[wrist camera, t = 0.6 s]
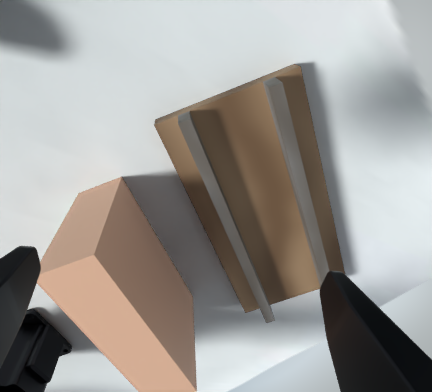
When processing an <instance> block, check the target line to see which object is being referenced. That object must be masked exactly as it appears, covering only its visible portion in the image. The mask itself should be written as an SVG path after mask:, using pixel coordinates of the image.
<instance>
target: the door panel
mask: <svg viewBox="0 0 432 392" xmlns="http://www.w3.org/2000/svg"><path fill="white" fill-rule="evenodd" d="M40 264H41V271H40V275H39V278H38V280H37V284H38V285H39V286H40V287H41V288H42V289H43V290H44V291H45V292H46V293H47V294H48V295H49V297H50V298H51V299H52V300H53V301H54V302H55V303H56V304H57V305H58V306H59V307H60V308H61V309H62V310H63V311H64V313H65V314H66V315H67V316H68V317H69V318H70V319H71V320H72V321H73V322H74V323H75V324H76V325H77V326H78V327H79V329H80V330H81V331H82V332H83V333H84V334H85V335H86V336H87V337H88V338H89V339H90V340H91V341H92V342H93V343H94V345H95V346H96V347H97V348H98V349H99V350H100V351H101V352H102V353H103V354H104V355H105V356H106V357H107V358H108V359H109V361H110V362H111V363H112V364H113V365H114V366H115V367H116V368H117V369H118V370H119V371H120V372H121V373H122V374H123V375H124V377H125V378H126V379H127V380H128V381H129V382H130V383H131V384H132V385H133V386H134V387H135V388H136V389H137V390H138V391H139V392H196V391H197V386H196V361H195V337H194V313H193V296H192V294H191V293H190V291H189V289H188V288H187V286H186V284H185V283H184V281H183V279H182V278H181V276H180V274H179V273H178V271H177V269H176V268H175V266H174V264H173V262H172V261H171V259H170V257H169V256H168V254H167V252H166V251H165V249H164V247H163V246H162V244H161V242H160V241H159V239H158V237H157V235H156V234H155V232H154V230H153V229H152V227H151V225H150V224H149V222H148V220H147V219H146V217H145V215H144V214H143V212H142V210H141V209H140V207H139V205H138V203H137V202H136V200H135V198H134V197H133V195H132V193H131V192H130V190H129V188H128V187H127V185H126V183H125V182H124V180H123V178H122V177H120V178H117V179H115V180H112V181H109V182H107V183H104V184H102V185H99V186H96V187H94V188H91V189H89V190H86V191H83V192H81V193H79V194H78V195H77V197H76V199H75V201H74V203H73V204H72V206H71V208H70V210H69V211H68V213H67V215H66V217H65V219H64V220H63V222H62V224H61V226H60V228H59V229H58V231H57V233H56V235H55V236H54V238H53V240H52V242H51V244H50V245H49V247H48V249H47V251H46V253H45V254H44V256H43V258H42V260H41V261H40Z"/></svg>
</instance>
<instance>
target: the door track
mask: <svg viewBox="0 0 432 392" xmlns="http://www.w3.org/2000/svg"><path fill="white" fill-rule="evenodd" d="M154 126H155V128H156V130H157V132H158V134H159V136H160V138H161V140H162V142H163V144H164V146H165V148H166V150H167V152H168V154H169V156H170V159H171V161H172V163H173V165H174V167H175V169H176V171H177V173H178V175H179V177H180V179H181V181H182V183H183V185H184V187H185V189H186V191H187V194H188V196H189V198H190V200H191V202H192V204H193V206H194V208H195V210H196V212H197V214H198V216H199V218H200V220H201V222H202V224H203V226H204V229H205V231H206V233H207V235H208V237H209V239H210V241H211V243H212V245H213V247H214V249H215V251H216V253H217V255H218V257H219V259H220V262H221V264H222V266H223V268H224V270H225V272H226V274H227V276H228V278H229V280H230V282H231V284H232V286H233V288H234V290H235V292H236V294H237V297H238V299H239V301H240V303H241V305H242V307H243V309H244V311H245V313H247V312H250V311H253V310H256V309H259V308H260V310H261V312H262V314H263V316H264V319H265V321H266V323H268V322H272V321H275V319H274V316H273V313H272V310H271V306H270V305H271V304H274V303H277V302H280V301H283V300H286V299H289V298H292V297H295V296H298V295H302V294H305V293H308V292H311V291H314V290H317V289H320V287H321V285H322V283H323V281H324V279H325V277H326V275H327V273H328V272H329V271H340V272H343V273H344V274H345V271H344V267H343V262H342V257H341V253H340V248H339V243H338V239H337V234H336V230H335V225H334V220H333V216H332V211H331V206H330V202H329V197H328V192H327V188H326V183H325V178H324V174H323V169H322V164H321V160H320V155H319V150H318V146H317V141H316V136H315V132H314V127H313V122H312V118H311V113H310V108H309V104H308V99H307V94H306V90H305V85H304V80H303V76H302V71H301V67H300V66H298V65H296V64H293V65H291V66H288V67H286V68H283V69H281V70H278V71H276V72H273V73H271V74H268V75H266V76H263V77H261V78H258V79H256V80H253V81H251V82H248V83H246V84H243V85H241V86H238V87H236V88H233V89H231V90H228V91H226V92H223V93H221V94H218V95H216V96H213V97H211V98H208V99H206V100H203V101H201V102H198V103H196V104H193V105H191V106H188V107H186V108H183V109H181V110H178V111H176V112H173V113H171V114H168V115H166V116H163V117H161V118H158V119H156V120H155V124H154Z"/></svg>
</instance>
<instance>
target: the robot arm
mask: <svg viewBox="0 0 432 392" xmlns="http://www.w3.org/2000/svg"><path fill="white" fill-rule="evenodd" d="M40 271H41V264H40V260H39V257H38V253H37V250H36V248H35V247H31V246H19V247H17V248H16V249H14V250H13V251H11V252H10V253H8V254H7V255H5V256H4V257H2V258H1V259H0V392H44V391H45V388H46V385H47V383H48V382H50V381H51V378H52V375H53V373H54V370H55V367H56V364H57V361H58V358H59V356H62V355H65V354H68V353H70V352H71V349H72V346H71V345H70V344H69V343H68V342H67V341H66V340H65V339H64V338H63V337H62V336H61V335H60V334H59V333H58V332H57V331H56V330H55V329H54V328H53V327H52V326H51V325H50V324H49V323H48V322H47V321H46V320H45V319H44V318H43V317H42V316H41V315H40V314H39V313H38V312H37V311H35V310H29V311H27V309H28V306H29V303H30V300H31V297H32V295H33V292H34V289H35V286H36V283H37V280H38V278H39V275H40ZM320 298H321V305H322V311H323V318H324V324H325V331H326V337H327V341H328V346H329V350H330V353H331V357H332V361H333V365H334V368H335V372H336V376H337V380H338V383H339V387H340V391H341V392H432V359H431V358H429V357H428V356H427V355H426V354H425V353H424V352H423V351H422V350H421V349H420V348H419V347H418V346H417V345H416V344H415V343H414V342H413V341H412V340H411V339H410V338H409V337H408V336H407V335H406V334H405V333H404V332H403V331H402V330H401V329H400V328H399V327H398V326H397V325H396V324H395V323H394V322H393V321H392V320H391V319H390V318H389V317H388V316H387V315H386V314H385V313H383V311H382V310H381V309H380V308H379V307H378V306H377V305H376V304H375V303H374V302H373V301H372V300H371V299H370V298H369V297H367V296H366V295H365V294H364V293H363V292H362V291H361V290H360V289H359V288H358V287H357V286H356V285H355V284H354V283H353V282H352V281H351V280H350V279H349V278H348V277H347V276H346V275H345V274H344V273H343V272H340V271H329V272H328V273H327V275H326V277H325V279H324V281H323V283H322V285H321V287H320Z"/></svg>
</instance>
